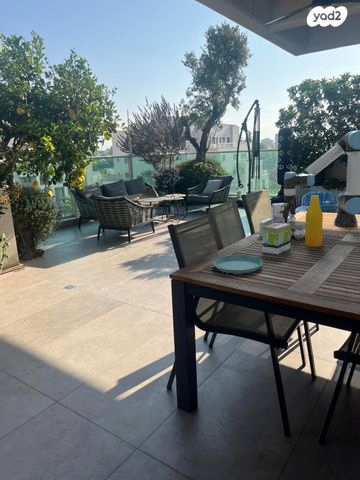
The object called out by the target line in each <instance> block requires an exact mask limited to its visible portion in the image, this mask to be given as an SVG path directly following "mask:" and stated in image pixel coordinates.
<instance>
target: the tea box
mask: <svg viewBox="0 0 360 480" xmlns="http://www.w3.org/2000/svg"><path fill="white" fill-rule="evenodd" d="M291 239H292V237H291V224H284V223H274V224H271V225H268V226H264V227H263V236H262V253H266V254H267V253H268V254H272V255H279V254H281V253H283V252H285V251H288V250H290V249H291Z"/></svg>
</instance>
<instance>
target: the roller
mask: <svg viewBox="0 0 360 480" xmlns="http://www.w3.org/2000/svg"><path fill="white" fill-rule="evenodd" d="M289 221H297V218H296V216H295V215H294V216H289V217H288V222H289ZM283 223H284V220H283Z"/></svg>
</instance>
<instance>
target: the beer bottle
mask: <svg viewBox="0 0 360 480" xmlns="http://www.w3.org/2000/svg"><path fill="white" fill-rule="evenodd" d="M309 200H310V201H309V206H308V208H307V211H306V213H305V222H306V228H305V236H304V239H305V240H304V245H305V246H307V247H310V248H318V247H322V244H323V218H324V215H323V211H322V208H321V205H320V196H319V195H316V194H315V195H310V199H309Z"/></svg>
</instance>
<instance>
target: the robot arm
mask: <svg viewBox="0 0 360 480" xmlns="http://www.w3.org/2000/svg"><path fill="white" fill-rule="evenodd" d="M345 154H346V155H347V169H346V188H345V189H346V191H345V192H342V193H341V192H340V193H339V194H338V196H337V207H336V208H337V209H336V210H337V211H336V217H335V219H334V221H333V225H334V226H337V227H343V228H344V227H345V228H346V227H348V228H350V227H352V228H353V227H357V226H358V220H357V217H356V215H358V214H360V129H357V130H351V131H349V132H347V133H345V135H343V136H342V137H341V138H340V139H339V140H337V141H336V142H335V143H334V146H332V147H331V148H329V150H327V151H326V152H325V153H324V154H322V155H321V156H320V157H318V158H317V159H316V160H315V161H314V162H313V163H311V164H309V166H308V167H306V168H305V169H304V170H303V171H301V172H300V173H298V174H297V173H296V172H295V171H287V172H284V177H283V179H284V180H283V184H284V185H283V188H284V189H283V201H284V203H285V206H284V213H283V218H284V224H285V223H287V222H288V215H289V211H290V213H291V215H290V216H295V215H297V214H296V206H295V202H296V194H297V193H296V192H297V191H296V188H297V187H298V186H299V187H300V186H301V187H302V186H303V187H305V186H307V187H308V186H313V185H315V182H316V181H315V180H316V179H315V176H316V175H317V174H318V173H320V172H321V171H322V170H324V169H325V168H326V167H327V166H329V165H330V164H331V163H332V162H333V161H335V160H336V159H338V157H340V156H342V155H345ZM356 225H357V226H356Z"/></svg>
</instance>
